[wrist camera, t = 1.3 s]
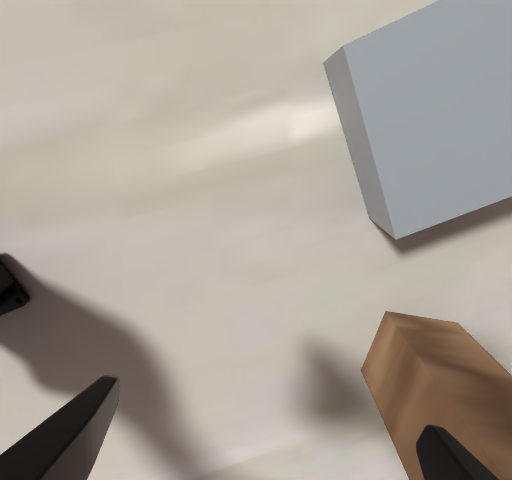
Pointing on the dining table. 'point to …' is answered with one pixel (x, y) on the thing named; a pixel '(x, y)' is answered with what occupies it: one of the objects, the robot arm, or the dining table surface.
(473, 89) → the grey slab
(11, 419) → the dining table surface
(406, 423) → the walnut block
